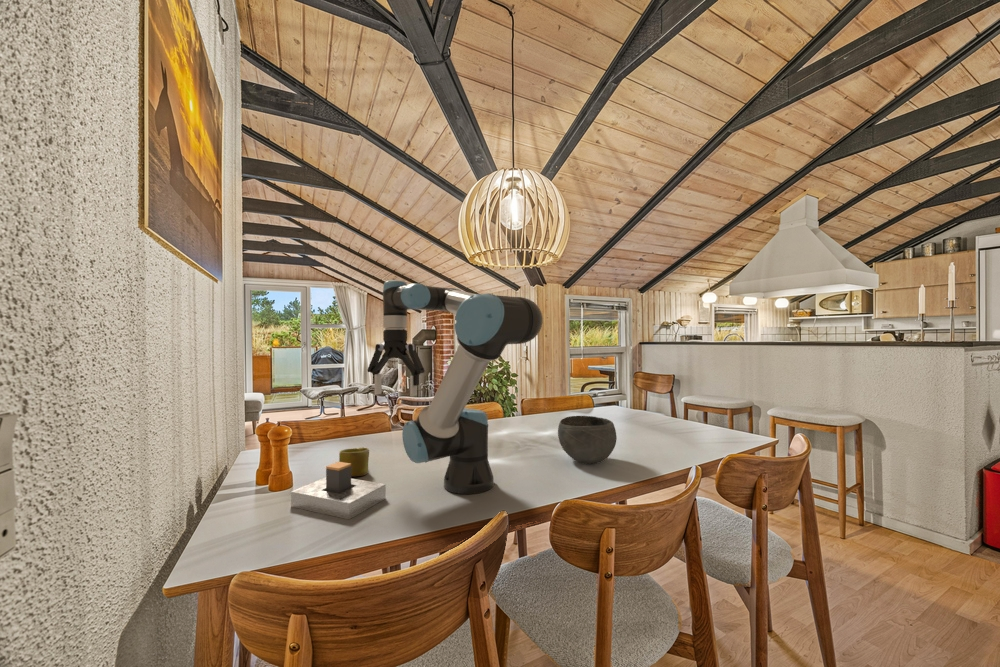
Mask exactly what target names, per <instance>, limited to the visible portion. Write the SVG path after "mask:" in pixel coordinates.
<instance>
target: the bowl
mask: <svg viewBox="0 0 1000 667" xmlns="http://www.w3.org/2000/svg"><path fill="white" fill-rule="evenodd" d="M557 438H558V442H559V444H560V446H561V448H562V450H563V451H564V452H565V453H566V455H568V456H569V458H572V460H574V461H575V462H576V463H580V464H583V465H597V464H600V463H601V462H604V461H605V460H607V459H608V458H609V456H611V454H612V452H613V451H614V449H615V447H616V445H617V441H618V440H617V430H616V428H615V424H614V423H613V421H612V420H610V419H607V418H603V417H598V416H592V415H591V416H590V415H571V416H567V417H563V418H562V419H560V421H559V423H558V427H557Z"/></svg>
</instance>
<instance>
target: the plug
mask: <svg viewBox="0 0 1000 667" xmlns="http://www.w3.org/2000/svg"><path fill="white" fill-rule="evenodd" d="M325 477H326V491H327V492H333V493H338V494H340V493H342V492H344V491H347V490H349V489H351V478H352V477H351V463H344V462H339V461H337V462H335V463H332V464H329V465H326V468H325Z"/></svg>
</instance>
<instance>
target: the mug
mask: <svg viewBox="0 0 1000 667" xmlns="http://www.w3.org/2000/svg"><path fill="white" fill-rule="evenodd" d="M369 457H370V449H369V448H368V447H363V446H361V447H358V448H357V447H354V448H345V449H342V450H340V451H339V456H338V458H339V460H338V462H344V463H351V478H352V477H362V476H365V475H367V474H368V472H369V459H370V458H369Z"/></svg>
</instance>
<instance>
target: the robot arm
mask: <svg viewBox="0 0 1000 667" xmlns="http://www.w3.org/2000/svg"><path fill="white" fill-rule="evenodd" d="M382 290H383V291H382V302H383V303H382V306H383V307H382V311H383V312H382V313H383V314H382V319H383V320H382V323H383V324H382V326H383V327H382V328H383V329H384V330H383V331H382V333H383V336H382V337H383V342H384V343H377V344H375V349H374V353H373V355H372V357H371V360H370V362H369V365H368V367H367V369H366V370H367V372H368V373H371V374H372V384H373V385H374V395H381V394H382V392H383V391H382V386H383V385H382V383H383V382H382V380H383V379H382V378H383V377H382V373H381V371H382V369H383V368H384V367H385V366H386V364H387V363H388V362H389V361H390V359H400V360H401V361H402V362H403V363H404V364H405V366H406V367H407V369H408V370H409V372H410V373H411V375H410V376H409V382H410V383H409V384H410V385H409V391H410V392H409V394H410V395H409V397H416V396H418V386H419V385H420V375H421V374H425V372H426V370H425V368H424V366H423V364H422V361H421V359H420V357H419V354H418V352H417V347H416V344H415V343H409V344H407V343H408V342H407V341H408V331H407V328H408V310H417V311H419V310H421V311H441V312H446V313H451V314H455V315H454V316H455V317H454V321H456V322H455V323H454V331H455V335H456V340H457V343H458V347H457V348H456V349H457V350H456V351H455V353H454V355H453V357H452V360H451V361H450V363H449V365H448V367H447V369H446V371H445V374H444V376H443V377H442V379H441V382H440V384H439V385H438V388H437V390H436V392H435V394H434V396H433V398H432V399H431V402H430V404H429V405H427V406H425V407H423V408H422V409H421V411H420V412H419V413H418V415H417V418H416V419H415V420H412V419H411V420H409V421H406V422H405V423H404V425H403V427H402V442H403V443H402V444H403V447H404V451H405V453H406V455H407V457H408V458H409V460H410V461H412V463H416V464H421V463H429V462H432V461H437V460H440V459H443V458H444V459H445V458H448V457H449V461H448V464H447V468H446V471H445V474H444V478H443V487H444V489H445V490H446V491H448V492H451V493H453V494H460V495H474V494H480V493H485V492H487V491H489V490H491V489H492V488H493V487H494V474H493V471H492V468H491V465H490V461H489V455H488V454H489V448H488V447H489V445H488V444H489V442H488V441H489V424H488V414H487V412H485V411H484V410H482V409H475V408H466V406H467V404H468V402H469V400H470V398H471V397H472V395H473V393H474V391H475V389H476V388H477V386H478V384H479V382H480V380H481V378H482V377H483V375H484V373H485V371H486V369H487V367H488V366H489V364H490V362H492V361H495V360H498V359H499V358H500V357H501V355H502V354H503V352H504V350H505V348H506V346H507V345H519V344H520V345H521V344H526V343H528V342H531V341H532V340H533V339H535V338H537V336H538V335H539V333H540V331H541V329H542V328H543V326H542V325H543V322H544V321H543V319H544V318H543V314H542V310H541V309H540V306H538V305H537V303H536V302H534V301H533V300H532V299H529V298H526V297H522V296H511V295H508V296H507V295H497V294H493V293H492V294H491V293H481V294H480V293H479V294H478V293H472V292H467V291H464V290H463V291H462V290H461V289H459V288H453V287H439V286H429V285H424V283H423V284H422V283H420V282H419V283H413V282H412V283H410V284H409V283H407V282H406V281H403V280H387V281H385V282H384V283H383V289H382ZM407 351H408V352H407ZM383 352H384V353H383ZM408 353H409V354H408ZM409 355H410V356H409Z"/></svg>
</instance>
